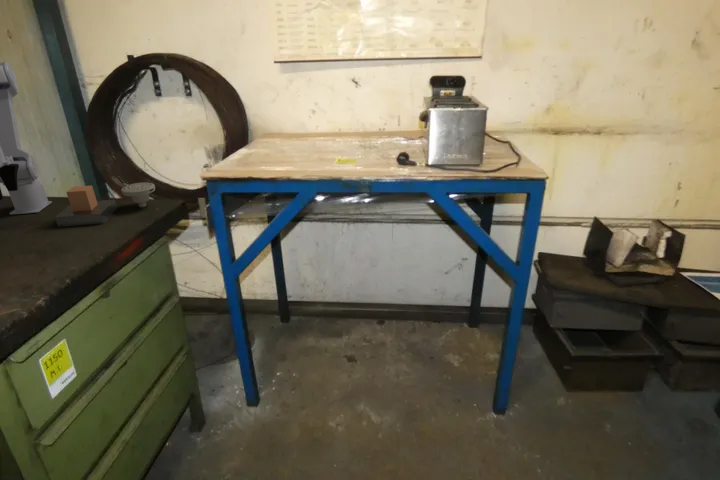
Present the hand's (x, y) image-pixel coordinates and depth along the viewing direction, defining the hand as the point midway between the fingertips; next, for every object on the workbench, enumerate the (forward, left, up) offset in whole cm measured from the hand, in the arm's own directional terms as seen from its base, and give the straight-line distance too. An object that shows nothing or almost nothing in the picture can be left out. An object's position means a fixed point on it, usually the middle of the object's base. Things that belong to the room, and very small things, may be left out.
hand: (5, 195), depth 116 cm
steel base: (-3, +18, -9) cm, 20 cm away
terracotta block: (-3, +18, -6) cm, 19 cm away
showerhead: (-10, +31, -10) cm, 34 cm away
